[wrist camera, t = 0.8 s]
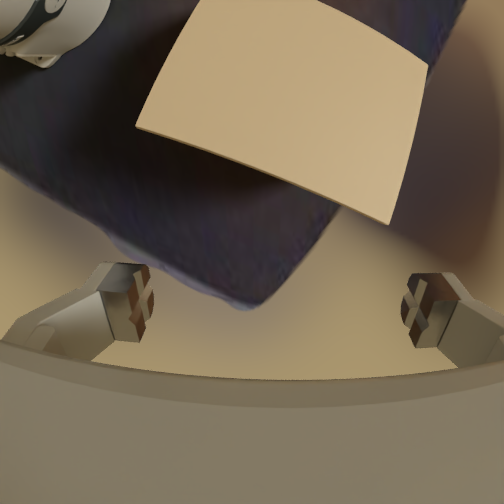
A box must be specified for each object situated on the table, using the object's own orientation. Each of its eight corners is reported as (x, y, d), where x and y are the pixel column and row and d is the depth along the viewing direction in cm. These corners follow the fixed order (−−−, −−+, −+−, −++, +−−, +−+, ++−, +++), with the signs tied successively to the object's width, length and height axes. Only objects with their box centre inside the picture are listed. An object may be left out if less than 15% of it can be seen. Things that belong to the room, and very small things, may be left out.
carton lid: (137, 128, 21) (135, 125, 20) (221, -28, 19) (222, -33, 19) (383, 224, 24) (388, 225, 24) (423, 67, 23) (428, 65, 23)
